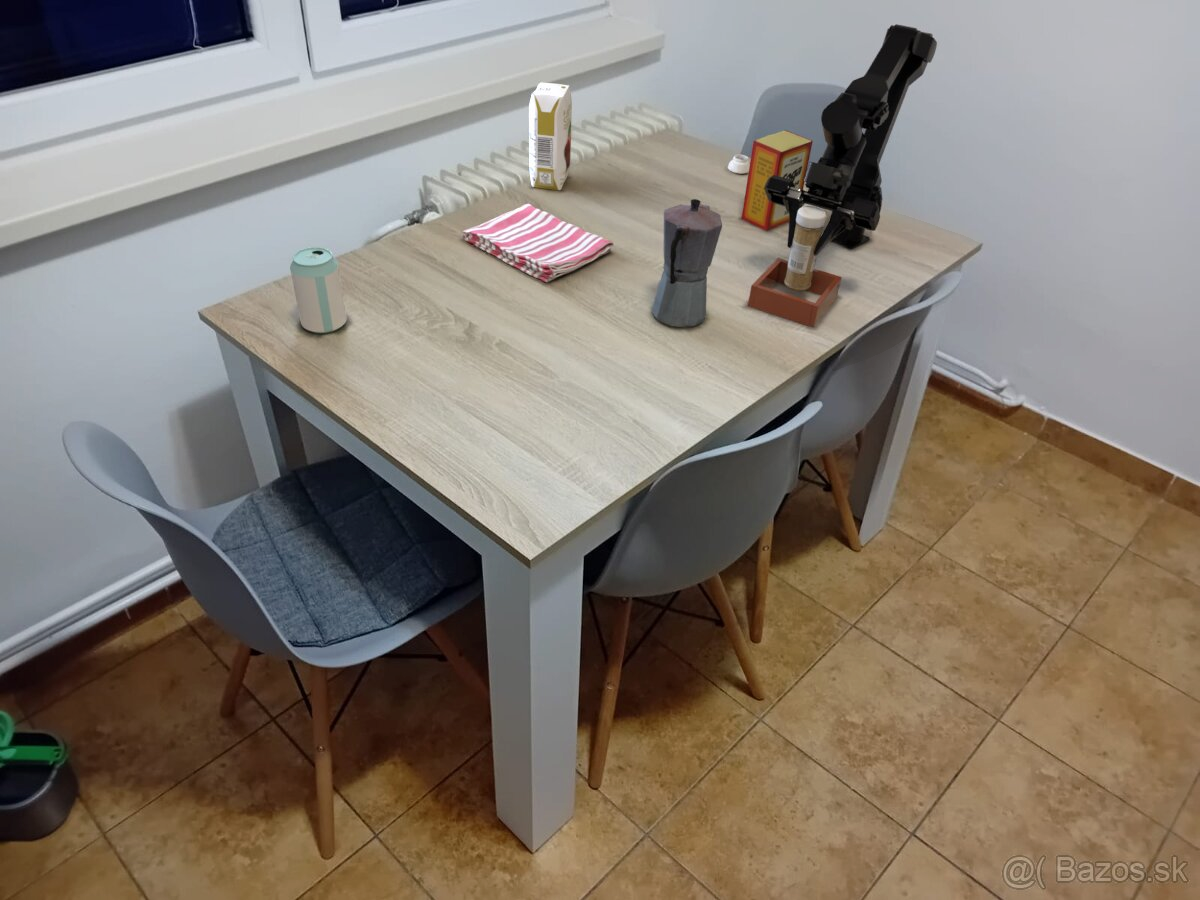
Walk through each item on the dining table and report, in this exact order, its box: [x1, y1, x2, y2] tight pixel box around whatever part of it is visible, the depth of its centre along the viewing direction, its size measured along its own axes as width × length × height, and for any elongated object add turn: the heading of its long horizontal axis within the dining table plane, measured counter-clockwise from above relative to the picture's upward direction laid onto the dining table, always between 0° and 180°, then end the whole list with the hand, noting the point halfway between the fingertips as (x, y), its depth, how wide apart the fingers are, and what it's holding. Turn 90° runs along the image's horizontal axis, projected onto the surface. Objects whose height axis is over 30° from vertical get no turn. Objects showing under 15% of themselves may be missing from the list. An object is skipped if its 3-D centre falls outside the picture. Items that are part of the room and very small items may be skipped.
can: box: [289, 246, 348, 334], centre depth 140 cm, size 7×7×12 cm
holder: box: [747, 257, 843, 328], centre depth 155 cm, size 12×12×4 cm
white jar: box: [727, 153, 750, 175], centre depth 197 cm, size 5×3×5 cm
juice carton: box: [528, 81, 573, 191], centre depth 182 cm, size 8×9×19 cm
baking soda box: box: [740, 129, 814, 232], centre depth 175 cm, size 10×6×16 cm
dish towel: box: [461, 203, 615, 283], centre depth 166 cm, size 17×23×4 cm
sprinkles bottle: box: [783, 205, 827, 292], centre depth 150 cm, size 5×5×13 cm
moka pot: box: [651, 198, 723, 328], centre depth 144 cm, size 10×15×20 cm, turn 161°
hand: (801, 250), depth 148 cm, fingers closed on sprinkles bottle, 4 cm apart
